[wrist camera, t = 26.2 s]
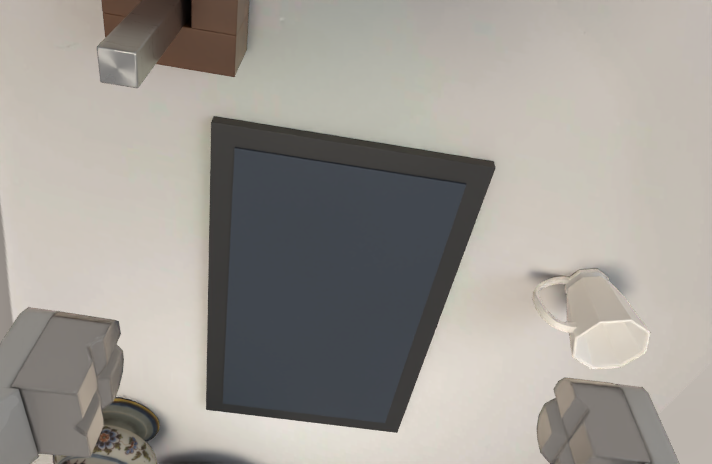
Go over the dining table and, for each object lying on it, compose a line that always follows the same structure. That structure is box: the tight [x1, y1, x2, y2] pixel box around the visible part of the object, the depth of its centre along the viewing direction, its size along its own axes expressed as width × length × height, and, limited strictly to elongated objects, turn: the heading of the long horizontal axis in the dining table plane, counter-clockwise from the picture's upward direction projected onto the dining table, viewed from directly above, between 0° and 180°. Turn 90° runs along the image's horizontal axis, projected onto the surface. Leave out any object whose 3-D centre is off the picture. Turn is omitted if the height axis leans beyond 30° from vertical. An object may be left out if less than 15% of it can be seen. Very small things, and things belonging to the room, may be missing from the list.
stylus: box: [97, 0, 191, 88], centre depth 37 cm, size 2×2×15 cm
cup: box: [532, 269, 651, 369], centre depth 56 cm, size 7×10×8 cm
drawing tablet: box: [206, 117, 495, 433], centre depth 62 cm, size 40×24×1 cm, turn 170°
